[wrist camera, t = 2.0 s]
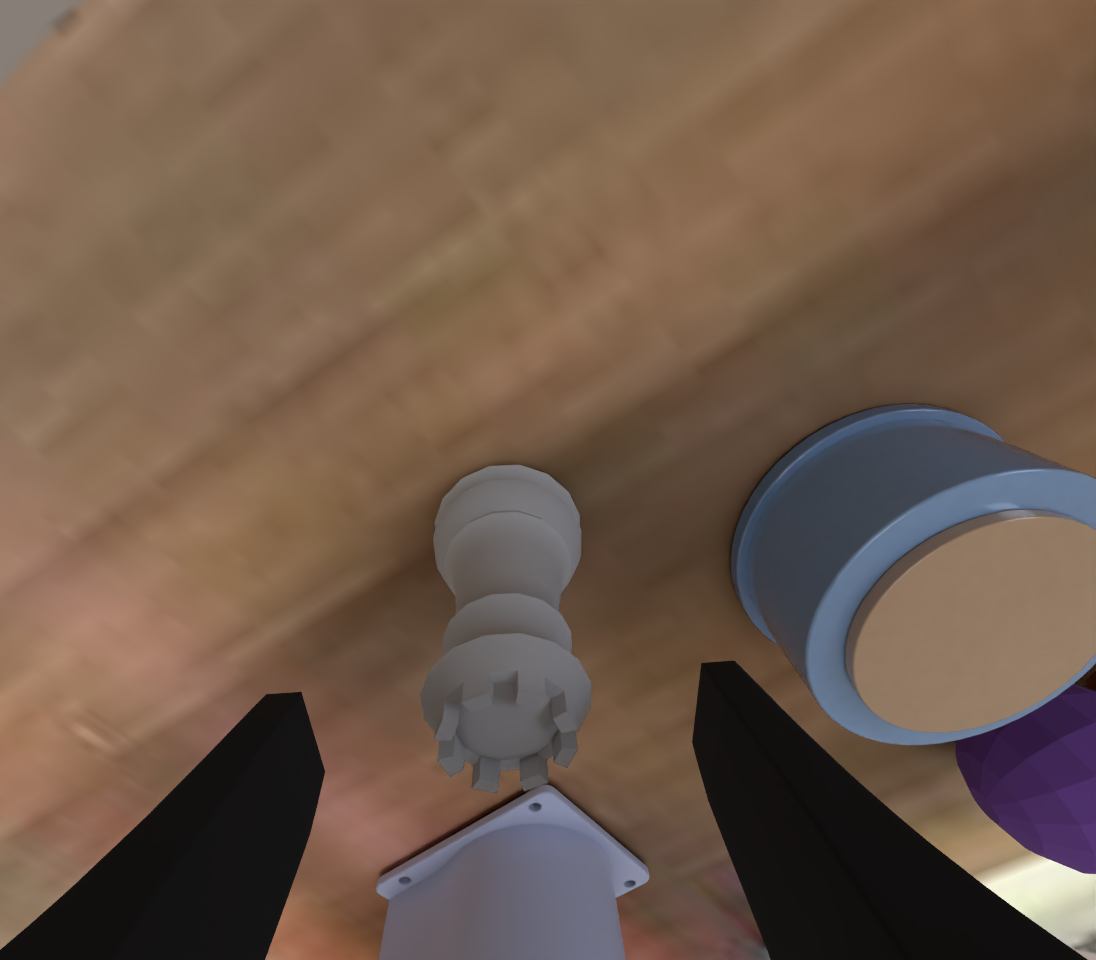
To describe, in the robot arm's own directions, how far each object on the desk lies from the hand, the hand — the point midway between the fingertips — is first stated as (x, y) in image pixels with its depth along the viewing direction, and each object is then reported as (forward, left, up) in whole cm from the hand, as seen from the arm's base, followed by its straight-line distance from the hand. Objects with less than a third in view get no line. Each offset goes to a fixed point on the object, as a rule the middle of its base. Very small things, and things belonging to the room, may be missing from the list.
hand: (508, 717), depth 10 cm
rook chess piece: (0, 0, -8) cm, 8 cm away
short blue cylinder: (+9, -8, -8) cm, 14 cm away
